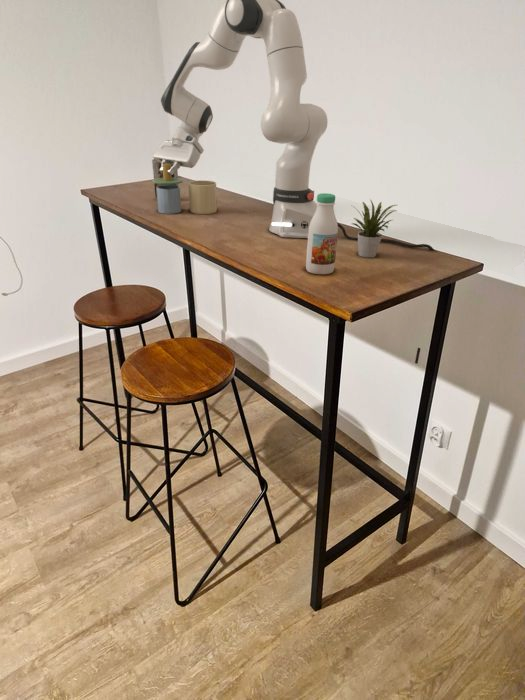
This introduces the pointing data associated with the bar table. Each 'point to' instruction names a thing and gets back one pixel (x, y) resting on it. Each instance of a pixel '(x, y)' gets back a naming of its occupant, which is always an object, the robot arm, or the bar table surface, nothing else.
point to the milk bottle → (322, 237)
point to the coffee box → (158, 174)
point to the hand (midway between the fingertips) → (165, 172)
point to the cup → (168, 199)
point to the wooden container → (202, 197)
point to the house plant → (371, 230)
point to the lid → (167, 177)
